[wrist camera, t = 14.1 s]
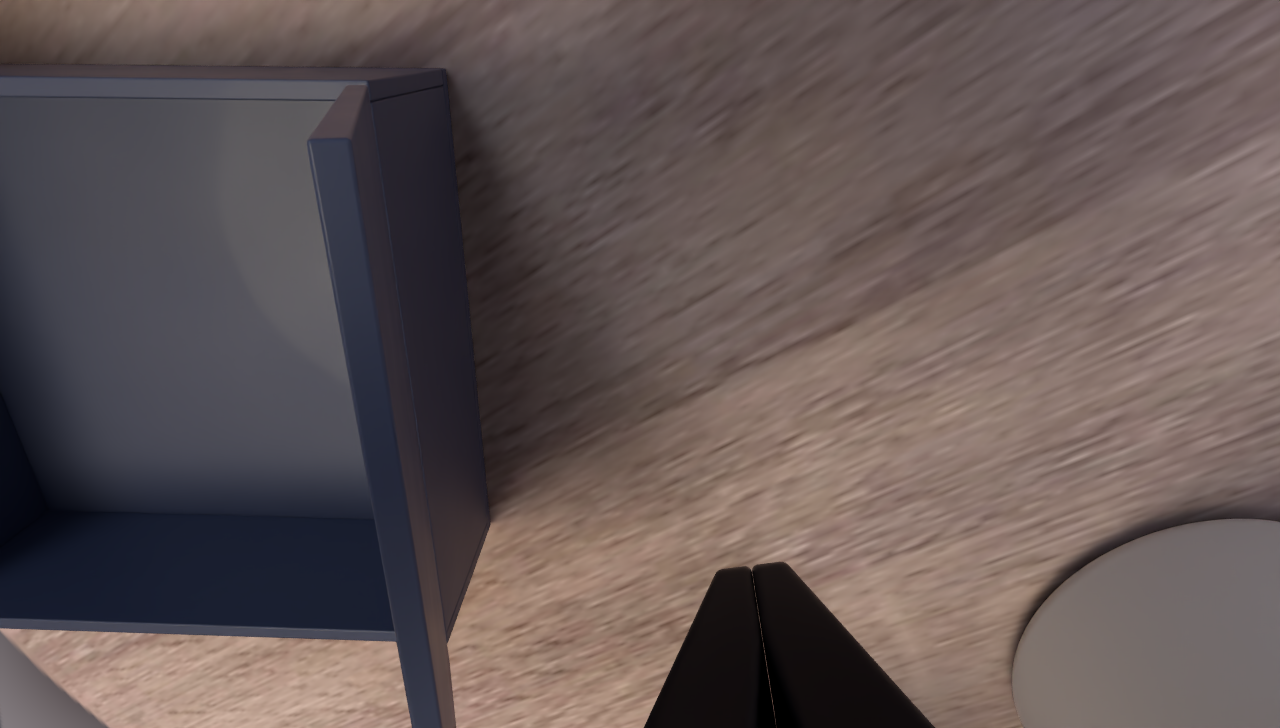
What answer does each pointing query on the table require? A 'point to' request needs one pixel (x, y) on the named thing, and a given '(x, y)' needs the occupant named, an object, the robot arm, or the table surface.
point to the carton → (215, 353)
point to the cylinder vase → (1160, 635)
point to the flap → (382, 393)
